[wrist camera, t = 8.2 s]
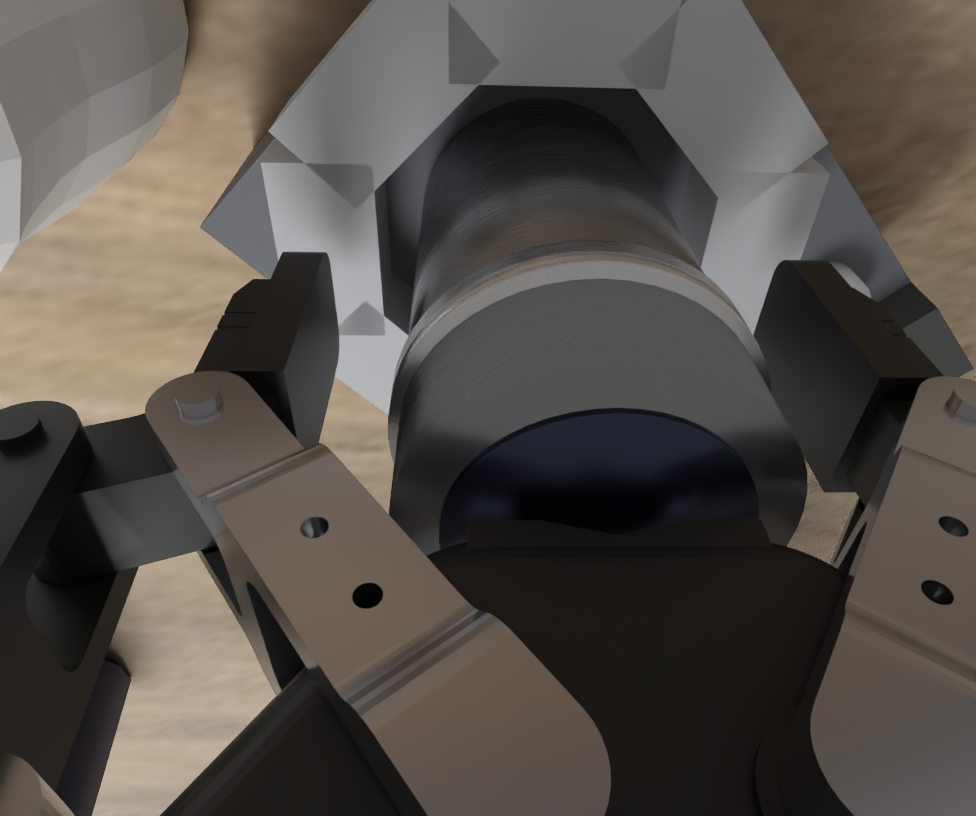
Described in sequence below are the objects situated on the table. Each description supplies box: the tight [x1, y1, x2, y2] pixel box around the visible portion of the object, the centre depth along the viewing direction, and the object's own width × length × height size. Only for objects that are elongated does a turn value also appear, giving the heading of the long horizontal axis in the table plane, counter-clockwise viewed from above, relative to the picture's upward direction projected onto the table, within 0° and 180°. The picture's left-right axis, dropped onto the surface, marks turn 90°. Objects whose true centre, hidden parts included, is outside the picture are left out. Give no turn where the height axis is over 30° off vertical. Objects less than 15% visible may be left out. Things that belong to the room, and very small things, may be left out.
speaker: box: [55, 660, 131, 816], centre depth 32 cm, size 8×6×10 cm
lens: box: [388, 98, 807, 556], centre depth 12 cm, size 5×5×9 cm
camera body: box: [200, 0, 974, 462], centre depth 18 cm, size 15×11×7 cm
